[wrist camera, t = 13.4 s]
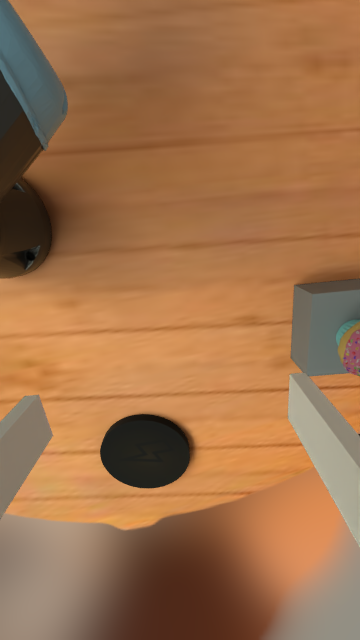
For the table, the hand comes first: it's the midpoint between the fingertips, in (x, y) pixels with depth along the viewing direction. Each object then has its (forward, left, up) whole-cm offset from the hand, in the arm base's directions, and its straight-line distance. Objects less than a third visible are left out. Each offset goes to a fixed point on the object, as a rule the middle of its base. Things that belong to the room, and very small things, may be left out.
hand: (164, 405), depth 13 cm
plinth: (+8, +25, -29) cm, 39 cm away
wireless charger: (+33, -10, -29) cm, 45 cm away
